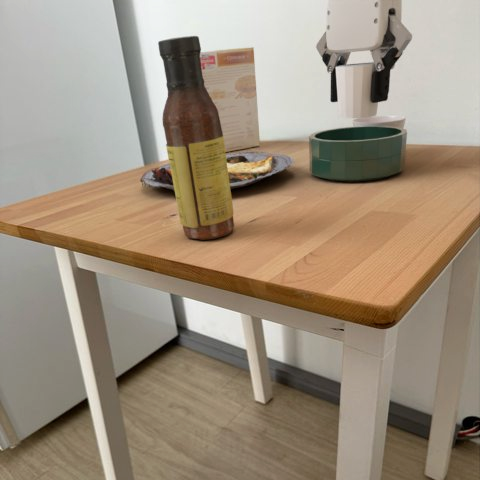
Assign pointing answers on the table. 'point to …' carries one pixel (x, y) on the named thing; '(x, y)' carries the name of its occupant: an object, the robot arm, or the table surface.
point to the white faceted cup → (355, 90)
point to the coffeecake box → (233, 94)
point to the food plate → (230, 169)
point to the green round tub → (357, 153)
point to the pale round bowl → (381, 121)
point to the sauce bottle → (195, 143)
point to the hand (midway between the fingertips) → (358, 100)
